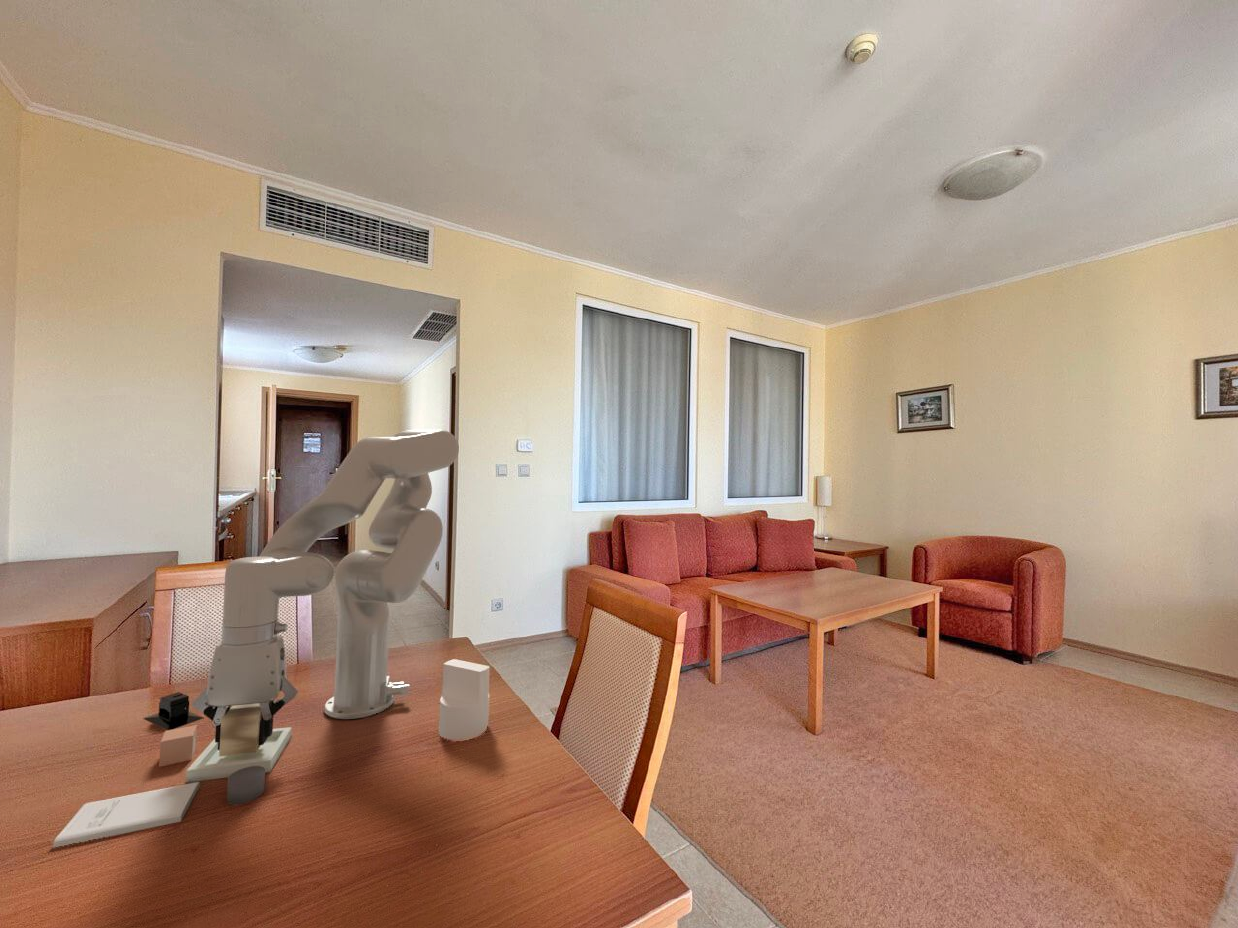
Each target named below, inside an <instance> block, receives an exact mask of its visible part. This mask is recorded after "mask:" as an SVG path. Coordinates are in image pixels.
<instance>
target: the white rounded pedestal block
mask: <svg viewBox="0 0 1238 928" xmlns="http://www.w3.org/2000/svg"><path fill="white" fill-rule="evenodd" d="M442 667H443V668H442V669H443V670H442V673H443V674H442V688H441V689H442V691H441V692H442V693H441V697H440V699H439V717H438V718H439V719H438V721H439V722H438V735H439V734H440V735H439V736H441V738H442V737H444V738H447V739H452V740H460V739H467V738H470V737H475V736H477V735H479V734H481V733H482V732H483V731H484V730H485V729H486V728H487V726H488V727H489V716H490V714H489V713H490V712H489V711H490V692H489V691H490V671H491V670H490V669H491V668H490V667H491V666H489V665H485V664H480V663H476V662H470V661H466V660H460V659H456V658H452V659H451V660H447V661H446V662H444V663H443V666H442Z"/></svg>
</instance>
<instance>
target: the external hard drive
mask: <svg viewBox="0 0 1238 928" xmlns="http://www.w3.org/2000/svg"><path fill="white" fill-rule="evenodd" d="M199 788H200V781H195V782H189V783H185V784H181V785H176V786H170V787H165V788H160V789H153V790H149V791H144V792H138V793H133V794H127V795H123V796H118V797H113V798H107V799H103V800H102V799H101V800H97V801H91V802H90V801H89V802H86V803H84V804H83V805H82V806H81V807H80V809H79V810H78V811H77V812H76V814H75V815H74V816H73V817H72V819H70V820H69V822H67V824H66V826H65V827H64V828H62V830H61V832H60V833H59V834H58V835H57V836H56V837H55V839H54V840H53V843H52V849H55V848H54V847H58V846H61V845H62V847H65V846H64V845H67V846H69V845H68V844H72V843H77V844H80V843H79V842H81V843H85V841H86V842H89V841H88V840H91V841H94V840H93V839H96V840H99V838H100V839H104V838H103V837H105V838H109V836H110V837H113V836H118V835H119V836H120V835H123V834H128V833H132V832H138V831H142V830H147V829H152V828H156V827H161V826H165V825H170V824H175V823H180V822H182V820H183V818H184V816H185V815H186V812H187V811H188V809H189V807H190V805H191V803H192V801H193V800H194V797H195V796H196V794H197V792H198V790H199ZM72 845H73V844H72ZM58 848H59V847H58Z"/></svg>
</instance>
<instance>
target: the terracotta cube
mask: <svg viewBox="0 0 1238 928" xmlns="http://www.w3.org/2000/svg"><path fill="white" fill-rule="evenodd" d="M197 727H198V725H197V724H195V725H190V726H184V727H183V726H182V727H178V728H175V729H173V730H165V731H164V733H163V735H162V738H161V739H160V744H159V745H160V746H159V762H158V763H159V764H158V766H159V768H160V767H164V766H168V765H174V764H179V763H184V762H187V761H192V760H193V757H194V755H195V751H196V748H197V746H196V744H197V729H198V728H197Z"/></svg>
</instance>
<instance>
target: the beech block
mask: <svg viewBox="0 0 1238 928" xmlns="http://www.w3.org/2000/svg"><path fill="white" fill-rule="evenodd" d="M261 720H262V712H261V709H260V705H259V703H256V704H245V705H234V706H231V709H230V710H229V711H228V712H227V713H226V714H225V715H224V716H223V717H222V718H221V733H220V750H219V757H220V756H229V755H237V754H245V753H254V752H257V750H258V749H259V747H260V746H261V745H259V729H260V721H261Z"/></svg>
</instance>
